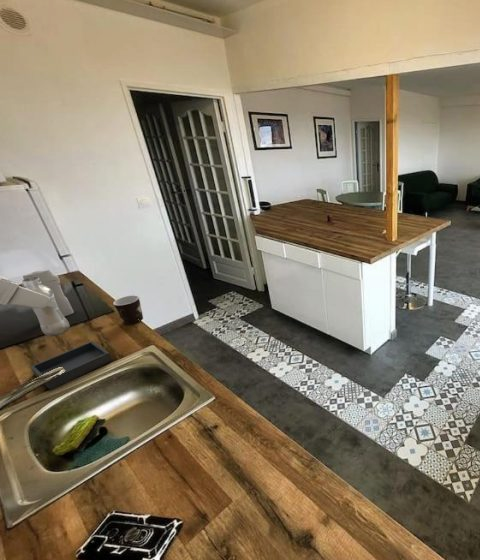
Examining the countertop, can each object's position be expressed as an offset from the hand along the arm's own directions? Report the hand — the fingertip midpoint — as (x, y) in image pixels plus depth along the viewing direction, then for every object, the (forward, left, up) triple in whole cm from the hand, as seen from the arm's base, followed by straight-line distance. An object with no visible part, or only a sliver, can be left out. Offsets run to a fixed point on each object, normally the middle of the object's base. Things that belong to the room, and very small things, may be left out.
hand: (46, 302), depth 99 cm
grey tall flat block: (+9, +45, -25) cm, 53 cm away
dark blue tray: (-1, -2, -25) cm, 25 cm away
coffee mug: (+23, +14, -25) cm, 37 cm away
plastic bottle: (-1, 0, -12) cm, 12 cm away
